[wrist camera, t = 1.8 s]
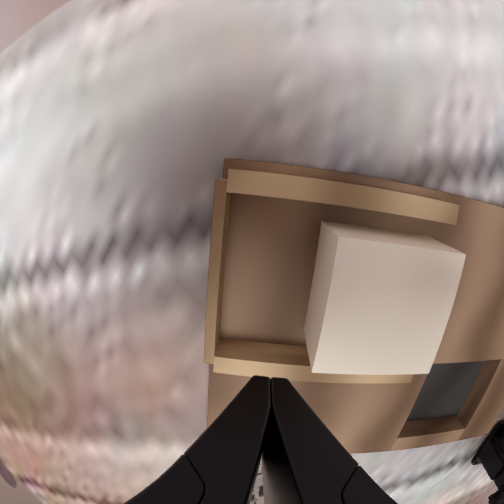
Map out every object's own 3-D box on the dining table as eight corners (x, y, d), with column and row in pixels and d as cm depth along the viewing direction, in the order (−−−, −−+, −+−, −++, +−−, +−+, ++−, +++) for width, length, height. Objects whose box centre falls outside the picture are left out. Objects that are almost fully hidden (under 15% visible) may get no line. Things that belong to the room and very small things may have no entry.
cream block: (426, 235, 15) (466, 254, 11) (401, 336, 17) (428, 373, 13) (321, 220, 15) (338, 236, 11) (303, 330, 17) (311, 372, 13)
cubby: (440, 200, 15) (459, 204, 13) (399, 364, 17) (410, 382, 15) (223, 168, 15) (216, 167, 13) (210, 350, 17) (203, 370, 16)
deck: (551, 223, 16) (579, 232, 13) (479, 420, 21) (494, 443, 17) (229, 159, 17) (219, 156, 13) (210, 426, 22) (203, 459, 18)
